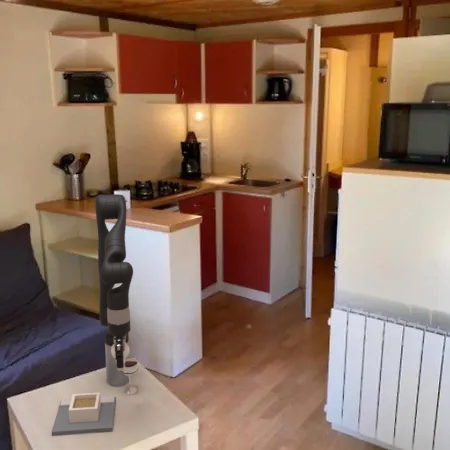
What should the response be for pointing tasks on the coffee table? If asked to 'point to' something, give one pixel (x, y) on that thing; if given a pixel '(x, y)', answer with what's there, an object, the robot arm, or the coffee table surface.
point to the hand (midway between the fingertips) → (120, 362)
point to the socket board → (85, 415)
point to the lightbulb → (120, 354)
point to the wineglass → (130, 373)
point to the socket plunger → (85, 403)
